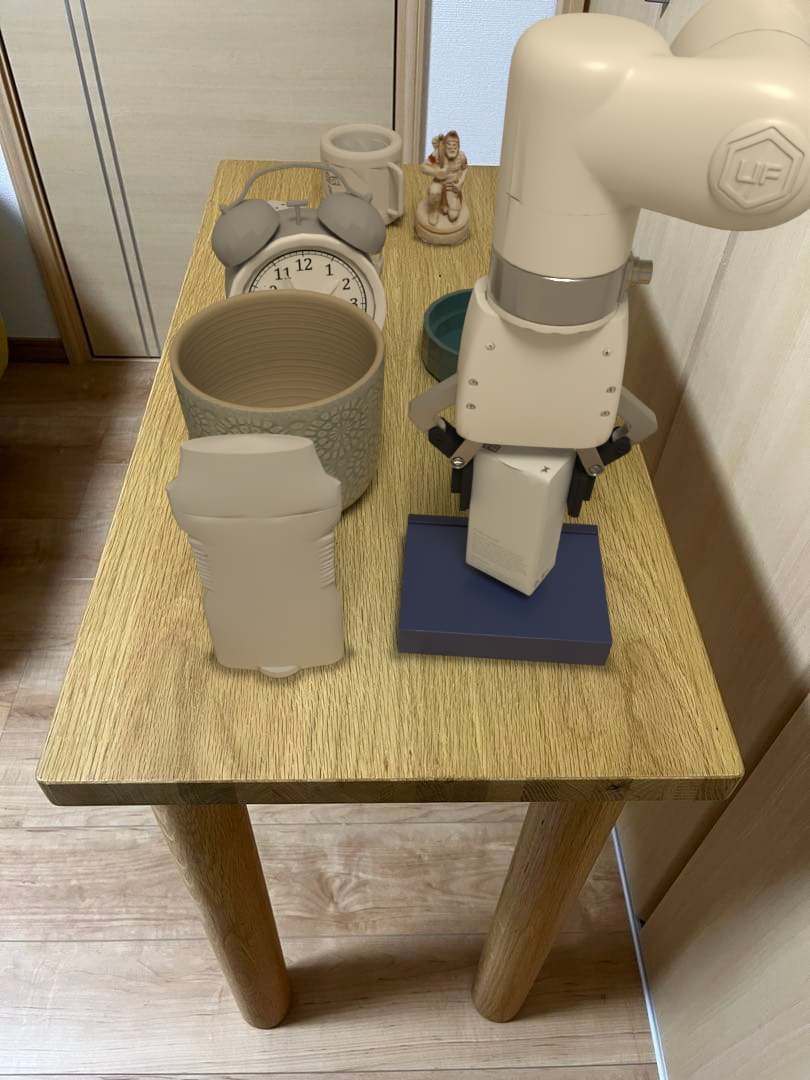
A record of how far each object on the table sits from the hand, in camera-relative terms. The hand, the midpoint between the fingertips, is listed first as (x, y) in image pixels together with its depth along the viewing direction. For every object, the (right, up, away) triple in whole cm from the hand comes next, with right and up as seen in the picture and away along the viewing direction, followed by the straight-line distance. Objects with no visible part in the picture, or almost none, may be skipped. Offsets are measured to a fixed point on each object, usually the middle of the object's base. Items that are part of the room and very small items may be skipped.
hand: (517, 499), depth 59 cm
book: (0, -8, +8) cm, 11 cm away
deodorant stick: (-18, -12, +4) cm, 22 cm away
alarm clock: (-18, +15, +29) cm, 38 cm away
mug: (-13, +42, +54) cm, 69 cm away
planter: (-19, +2, +17) cm, 25 cm away
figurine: (-3, +38, +51) cm, 63 cm away
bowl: (+1, +17, +31) cm, 36 cm away
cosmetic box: (0, -5, +5) cm, 7 cm away
